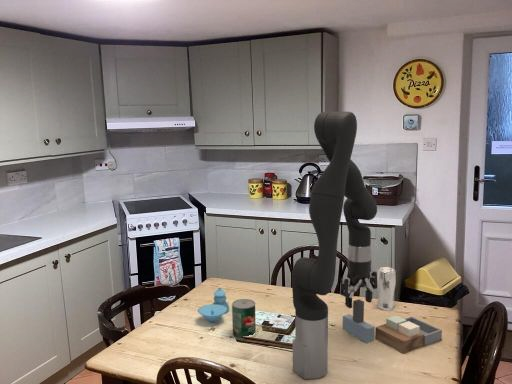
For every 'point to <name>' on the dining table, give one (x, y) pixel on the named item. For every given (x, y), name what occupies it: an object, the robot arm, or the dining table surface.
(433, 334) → the box
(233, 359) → the dining table surface
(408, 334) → the tile
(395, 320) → the tile
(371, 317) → the dining table surface
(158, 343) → the dining table surface
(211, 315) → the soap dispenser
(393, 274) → the beer glass
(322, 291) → the robot arm
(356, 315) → the scraper
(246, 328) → the canned tomato
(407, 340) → the brown wooden block
